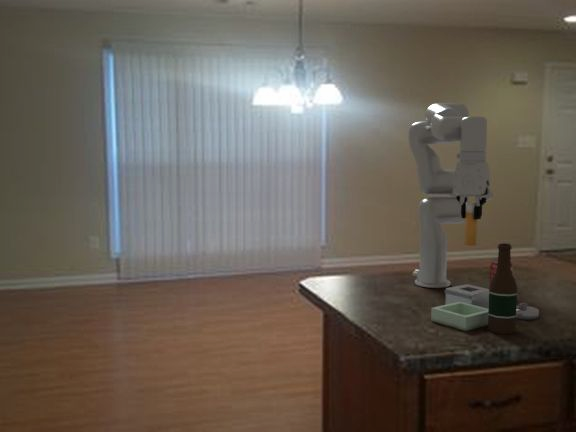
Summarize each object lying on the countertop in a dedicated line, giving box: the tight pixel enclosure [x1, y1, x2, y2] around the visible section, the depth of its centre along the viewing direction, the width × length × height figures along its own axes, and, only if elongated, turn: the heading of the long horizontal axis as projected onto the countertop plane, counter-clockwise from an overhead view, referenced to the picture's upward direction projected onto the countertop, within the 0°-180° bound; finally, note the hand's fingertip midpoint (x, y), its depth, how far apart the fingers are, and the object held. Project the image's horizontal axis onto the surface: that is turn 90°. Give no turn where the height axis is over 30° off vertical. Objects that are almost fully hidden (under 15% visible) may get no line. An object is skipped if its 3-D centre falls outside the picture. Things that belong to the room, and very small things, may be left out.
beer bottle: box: [487, 243, 518, 335], centre depth 175 cm, size 8×8×24 cm
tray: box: [430, 302, 489, 332], centre depth 185 cm, size 12×12×4 cm
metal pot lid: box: [516, 302, 540, 321], centre depth 192 cm, size 9×9×4 cm
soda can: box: [489, 259, 514, 283], centre depth 209 cm, size 7×7×13 cm
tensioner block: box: [444, 283, 489, 309], centre depth 200 cm, size 10×11×6 cm
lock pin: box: [464, 201, 478, 247], centre depth 196 cm, size 3×3×13 cm
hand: (471, 217), depth 195 cm, fingers closed on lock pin, 3 cm apart
